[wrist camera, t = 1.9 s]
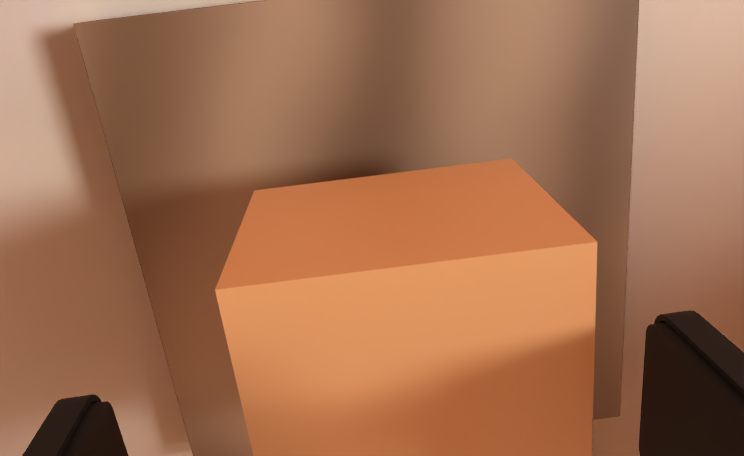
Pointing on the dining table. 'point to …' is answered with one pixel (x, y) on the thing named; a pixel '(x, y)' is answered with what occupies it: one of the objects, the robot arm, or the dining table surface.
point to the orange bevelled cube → (413, 317)
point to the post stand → (352, 139)
